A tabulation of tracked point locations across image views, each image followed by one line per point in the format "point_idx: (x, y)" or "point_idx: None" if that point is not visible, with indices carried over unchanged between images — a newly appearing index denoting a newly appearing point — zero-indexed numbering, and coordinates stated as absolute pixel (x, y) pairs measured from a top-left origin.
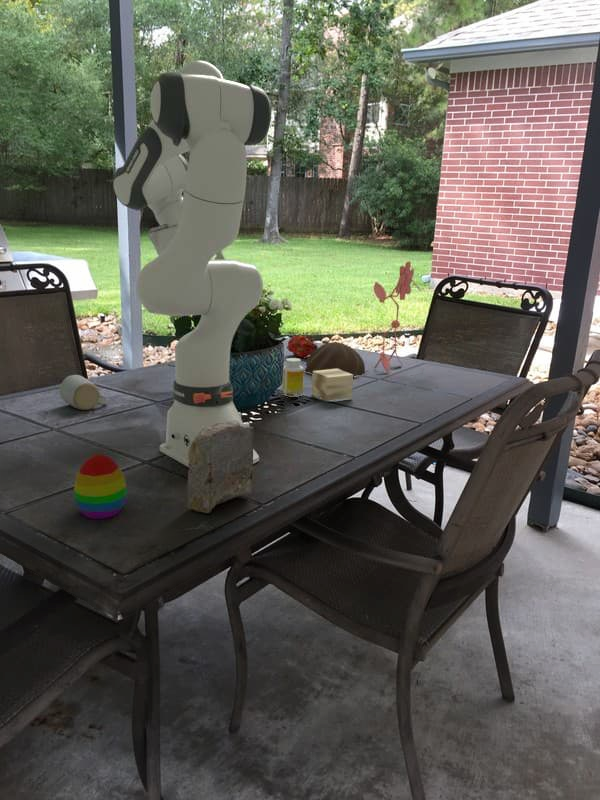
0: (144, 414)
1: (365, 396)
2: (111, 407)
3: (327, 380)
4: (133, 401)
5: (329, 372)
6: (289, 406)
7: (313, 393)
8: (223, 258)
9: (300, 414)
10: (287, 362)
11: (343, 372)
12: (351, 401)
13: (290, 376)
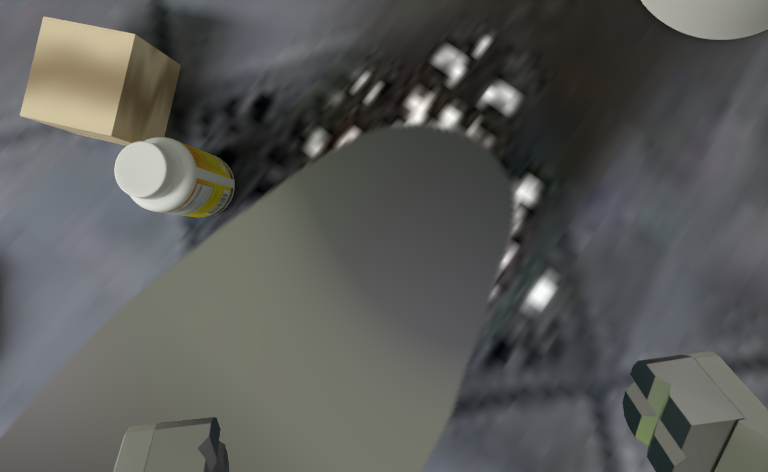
0: (707, 296)
1: None
2: None
3: (141, 42)
4: None
5: (81, 86)
6: (290, 103)
7: None
8: (150, 431)
9: (319, 23)
10: (170, 173)
11: (45, 60)
12: None
13: (199, 157)
